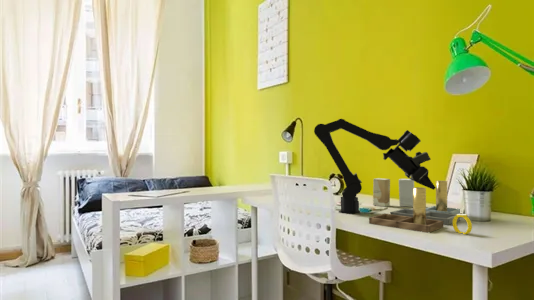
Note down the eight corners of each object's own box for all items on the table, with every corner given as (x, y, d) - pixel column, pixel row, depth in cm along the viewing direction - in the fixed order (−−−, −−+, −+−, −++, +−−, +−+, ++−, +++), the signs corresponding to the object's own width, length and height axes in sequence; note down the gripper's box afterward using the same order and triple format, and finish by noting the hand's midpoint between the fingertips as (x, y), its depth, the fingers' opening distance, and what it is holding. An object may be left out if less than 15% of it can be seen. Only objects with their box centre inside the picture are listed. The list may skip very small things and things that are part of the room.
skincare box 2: (415, 205, 168) (414, 178, 168) (413, 207, 164) (413, 179, 164) (400, 205, 171) (400, 178, 171) (398, 206, 167) (398, 179, 167)
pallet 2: (390, 217, 142) (390, 212, 142) (404, 213, 150) (403, 208, 150) (448, 225, 127) (448, 219, 127) (460, 220, 135) (460, 214, 135)
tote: (421, 214, 147) (421, 209, 147) (433, 210, 155) (433, 206, 155) (451, 218, 139) (451, 212, 139) (461, 214, 147) (461, 208, 147)
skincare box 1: (372, 205, 171) (372, 178, 171) (377, 204, 174) (377, 177, 174) (385, 207, 166) (385, 179, 166) (390, 205, 169) (390, 178, 169)
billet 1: (411, 227, 124) (410, 188, 124) (416, 225, 127) (416, 187, 127) (423, 229, 122) (422, 189, 121) (428, 227, 124) (427, 188, 124)
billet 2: (434, 214, 147) (434, 181, 147) (438, 213, 150) (438, 180, 150) (445, 215, 144) (444, 181, 144) (449, 214, 147) (448, 181, 147)
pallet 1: (369, 223, 132) (369, 217, 132) (385, 218, 139) (384, 213, 139) (429, 232, 117) (429, 226, 117) (443, 227, 124) (443, 221, 124)
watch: (451, 232, 117) (449, 213, 118) (457, 232, 118) (456, 213, 119) (467, 235, 112) (466, 215, 112) (474, 234, 113) (472, 214, 113)
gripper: (421, 145, 139) (454, 174, 137) (412, 145, 158) (441, 171, 155) (399, 166, 141) (431, 196, 139) (393, 164, 159) (421, 190, 157)
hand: (431, 187), depth 148 cm, fingers open, 9 cm apart
